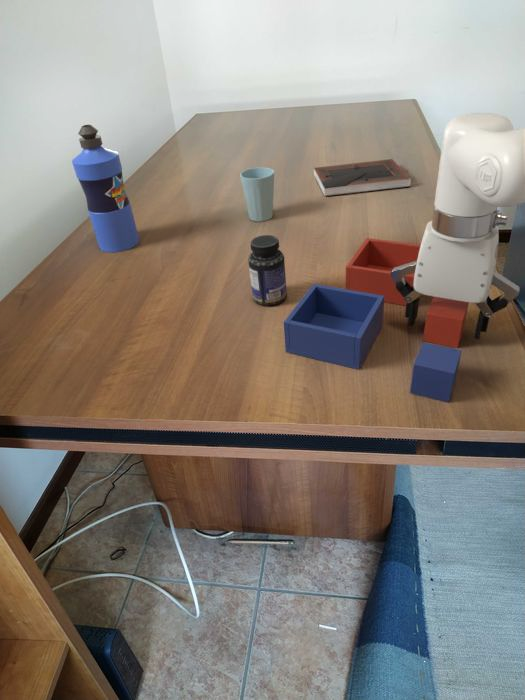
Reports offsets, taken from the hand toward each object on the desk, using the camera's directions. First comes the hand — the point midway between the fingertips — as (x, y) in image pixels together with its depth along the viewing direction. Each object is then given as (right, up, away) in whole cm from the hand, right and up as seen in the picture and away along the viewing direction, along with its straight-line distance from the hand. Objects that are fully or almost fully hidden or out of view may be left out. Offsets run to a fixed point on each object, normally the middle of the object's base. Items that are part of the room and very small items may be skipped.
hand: (444, 327), depth 75 cm
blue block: (-4, -8, -8) cm, 12 cm away
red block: (0, -1, +1) cm, 1 cm away
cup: (-28, +28, +43) cm, 58 cm away
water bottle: (-60, +21, +38) cm, 74 cm away
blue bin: (-16, -2, +2) cm, 16 cm away
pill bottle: (-26, +6, +14) cm, 30 cm away
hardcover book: (-2, +41, +56) cm, 69 cm away
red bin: (-5, +8, +14) cm, 17 cm away
